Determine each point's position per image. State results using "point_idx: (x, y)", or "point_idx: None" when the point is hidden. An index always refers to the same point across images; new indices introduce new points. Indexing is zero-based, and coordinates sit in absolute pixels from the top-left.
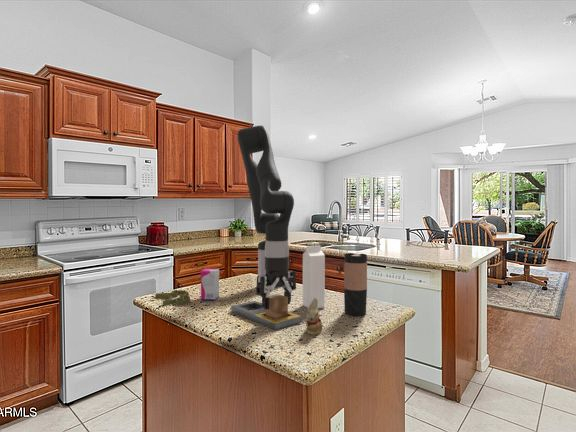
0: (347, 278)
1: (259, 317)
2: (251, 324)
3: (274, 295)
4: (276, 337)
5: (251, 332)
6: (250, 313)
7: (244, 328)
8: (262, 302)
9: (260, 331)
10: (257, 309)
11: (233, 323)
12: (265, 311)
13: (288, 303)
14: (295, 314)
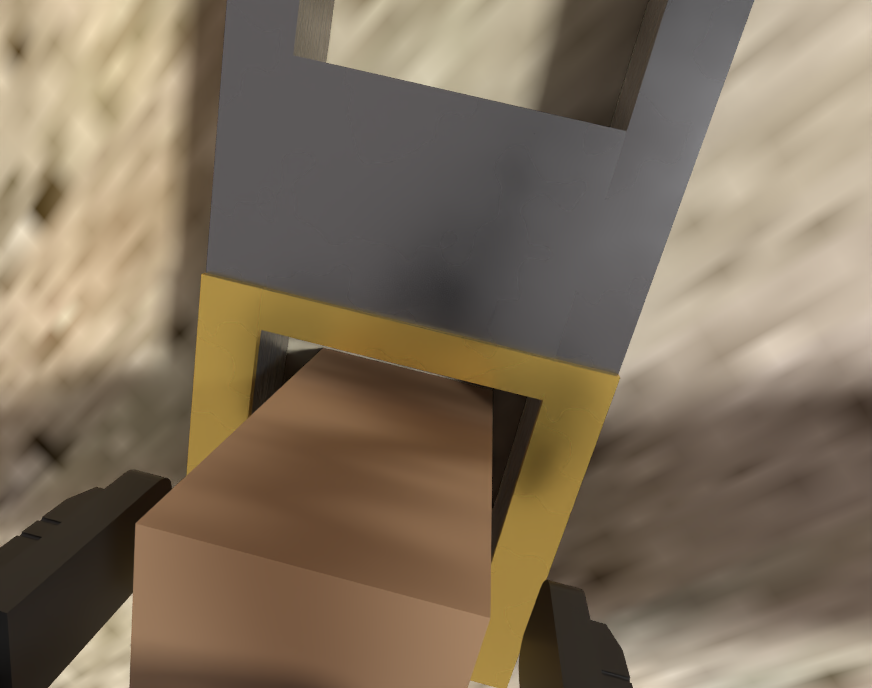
0: None
1: (202, 356)
2: (164, 284)
3: (328, 630)
4: (120, 624)
5: (39, 422)
6: (215, 160)
7: (46, 305)
8: (21, 543)
9: (109, 468)
10: (421, 103)
11: (39, 89)
12: (277, 392)
13: (520, 664)
14: (514, 638)
